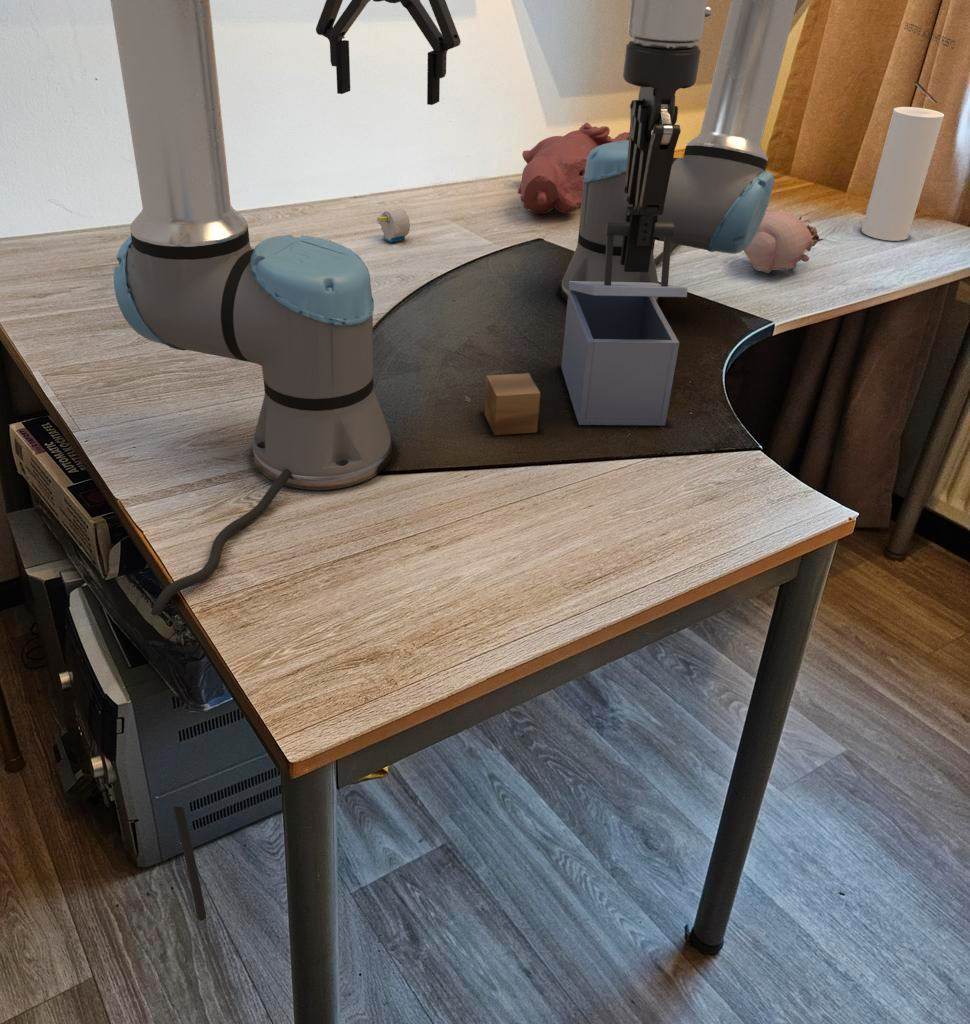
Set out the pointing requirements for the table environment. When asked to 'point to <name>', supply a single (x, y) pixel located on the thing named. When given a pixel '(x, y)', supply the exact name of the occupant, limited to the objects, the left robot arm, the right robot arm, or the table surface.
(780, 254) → the toy
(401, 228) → the electric motor
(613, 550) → the table surface
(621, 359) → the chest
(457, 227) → the table surface
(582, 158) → the fabric sculpture
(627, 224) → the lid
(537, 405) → the block
